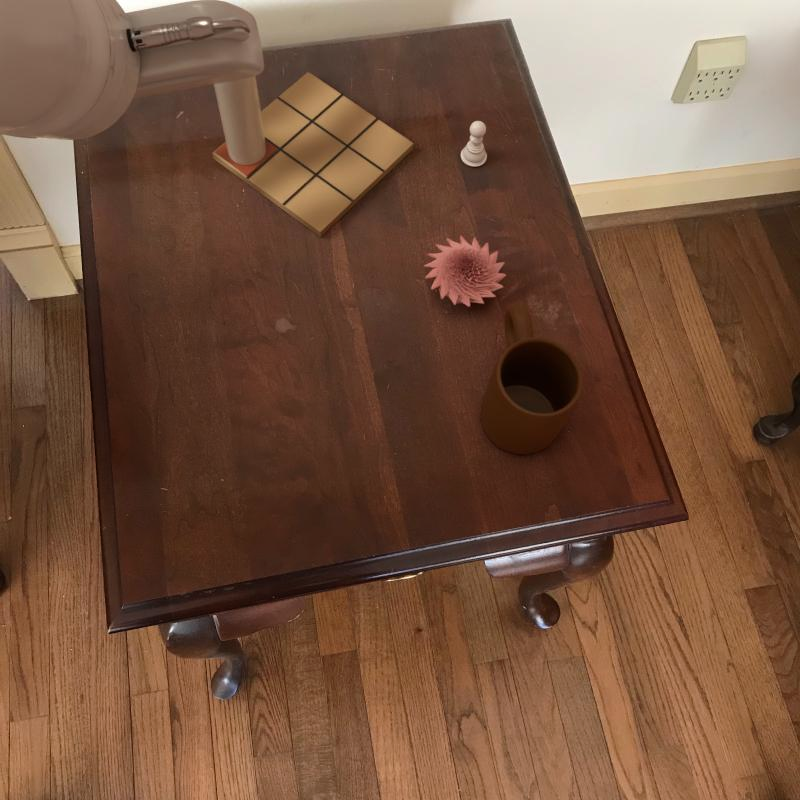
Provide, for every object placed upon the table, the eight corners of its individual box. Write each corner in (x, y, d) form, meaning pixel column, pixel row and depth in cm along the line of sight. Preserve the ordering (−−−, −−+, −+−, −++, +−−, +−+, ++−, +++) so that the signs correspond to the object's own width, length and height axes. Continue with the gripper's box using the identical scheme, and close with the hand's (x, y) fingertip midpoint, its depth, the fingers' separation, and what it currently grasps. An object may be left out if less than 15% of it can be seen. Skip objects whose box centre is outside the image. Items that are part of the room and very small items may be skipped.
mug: (462, 346, 80) (475, 296, 72) (538, 336, 81) (560, 285, 73) (488, 462, 76) (505, 424, 67) (568, 451, 77) (595, 411, 68)
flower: (498, 328, 81) (508, 299, 76) (417, 320, 81) (421, 290, 76) (502, 260, 85) (511, 228, 79) (424, 251, 84) (428, 219, 79)
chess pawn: (469, 171, 89) (476, 139, 84) (455, 153, 90) (460, 120, 85) (491, 161, 89) (499, 128, 85) (477, 142, 90) (483, 109, 86)
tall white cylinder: (219, 151, 87) (200, 62, 76) (246, 128, 88) (230, 38, 77) (247, 171, 86) (232, 85, 75) (274, 148, 87) (262, 60, 76)
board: (213, 159, 88) (211, 151, 87) (308, 78, 93) (308, 70, 92) (320, 237, 85) (320, 231, 84) (413, 149, 90) (414, 142, 89)
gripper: (225, -47, 43) (272, 5, 57) (-147, 23, 45) (-16, 57, 58) (250, 81, 45) (289, 102, 58) (-110, 144, 46) (9, 151, 60)
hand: (135, 80), depth 58 cm, fingers open, 8 cm apart
